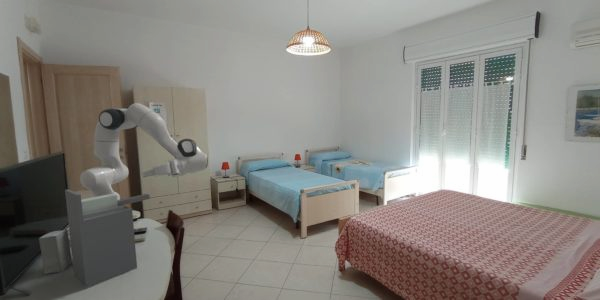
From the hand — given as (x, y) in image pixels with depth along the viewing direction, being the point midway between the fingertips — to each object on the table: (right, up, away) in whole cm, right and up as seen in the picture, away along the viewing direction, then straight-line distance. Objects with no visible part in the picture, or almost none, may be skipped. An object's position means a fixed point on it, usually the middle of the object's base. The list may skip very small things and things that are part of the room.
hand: (142, 174), depth 131 cm
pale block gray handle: (-4, -13, -11) cm, 18 cm away
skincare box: (-31, -40, -10) cm, 51 cm away
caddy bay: (-7, -39, -13) cm, 42 cm away
